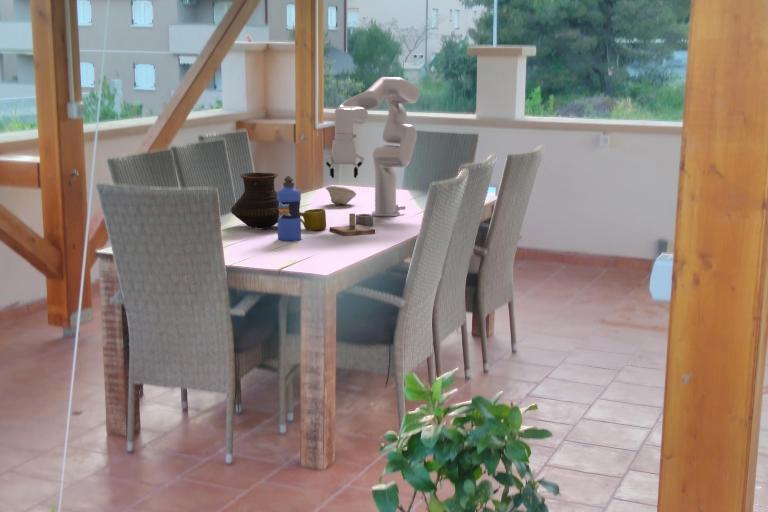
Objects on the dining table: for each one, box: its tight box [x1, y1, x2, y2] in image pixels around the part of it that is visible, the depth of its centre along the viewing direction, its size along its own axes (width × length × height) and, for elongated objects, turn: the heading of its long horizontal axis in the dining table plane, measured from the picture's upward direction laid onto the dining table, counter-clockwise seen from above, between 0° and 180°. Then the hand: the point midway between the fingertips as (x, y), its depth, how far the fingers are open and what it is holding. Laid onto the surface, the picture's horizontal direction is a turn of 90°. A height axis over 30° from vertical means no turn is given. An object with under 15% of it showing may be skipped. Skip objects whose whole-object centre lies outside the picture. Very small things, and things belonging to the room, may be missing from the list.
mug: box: [300, 208, 327, 232], centre depth 436 cm, size 12×10×10 cm
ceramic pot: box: [230, 171, 279, 229], centre depth 438 cm, size 24×24×22 cm
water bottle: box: [276, 175, 302, 243], centre depth 410 cm, size 9×9×25 cm
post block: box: [329, 213, 376, 237], centre depth 429 cm, size 14×14×8 cm
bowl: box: [325, 185, 357, 206], centre depth 503 cm, size 15×14×10 cm
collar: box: [355, 213, 374, 228], centre depth 445 cm, size 7×7×4 cm
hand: (343, 177), depth 444 cm, fingers open, 9 cm apart
